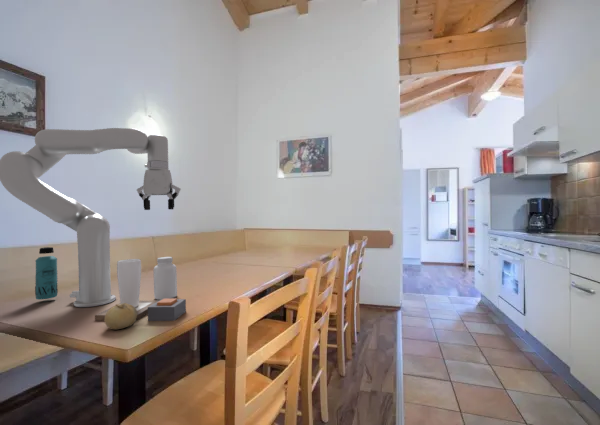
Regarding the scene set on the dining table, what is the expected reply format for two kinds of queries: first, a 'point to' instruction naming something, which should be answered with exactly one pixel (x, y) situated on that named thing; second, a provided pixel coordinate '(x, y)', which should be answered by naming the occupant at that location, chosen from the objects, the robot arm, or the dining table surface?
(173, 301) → the button
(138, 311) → the pallet
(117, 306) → the onion
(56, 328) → the dining table surface
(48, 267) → the beverage bottle
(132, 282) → the drinking glass
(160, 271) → the pill bottle
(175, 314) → the button housing
